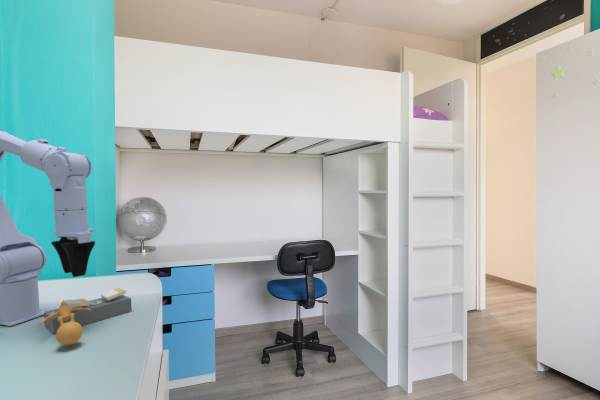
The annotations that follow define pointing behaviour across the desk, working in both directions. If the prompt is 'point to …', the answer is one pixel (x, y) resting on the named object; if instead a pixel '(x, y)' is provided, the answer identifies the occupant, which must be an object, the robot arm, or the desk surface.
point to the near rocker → (77, 303)
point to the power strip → (92, 312)
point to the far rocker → (113, 294)
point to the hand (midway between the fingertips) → (74, 273)
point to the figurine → (67, 325)
